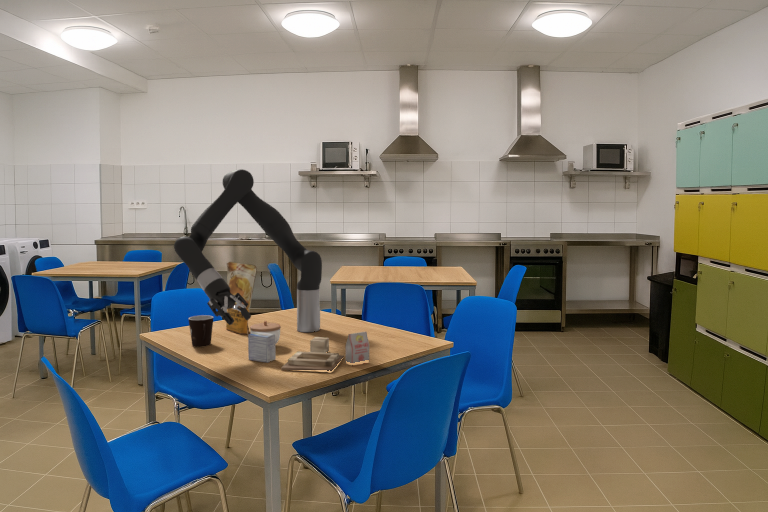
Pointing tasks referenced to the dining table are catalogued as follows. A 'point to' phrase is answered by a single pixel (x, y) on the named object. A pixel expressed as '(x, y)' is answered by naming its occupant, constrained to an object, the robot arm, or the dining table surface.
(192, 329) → the coffee mug
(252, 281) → the pancake mix bag
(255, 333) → the medicine box
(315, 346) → the maple block
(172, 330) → the dining table surface
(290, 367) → the socket plate
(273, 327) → the lidded jar
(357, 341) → the white paper bag
